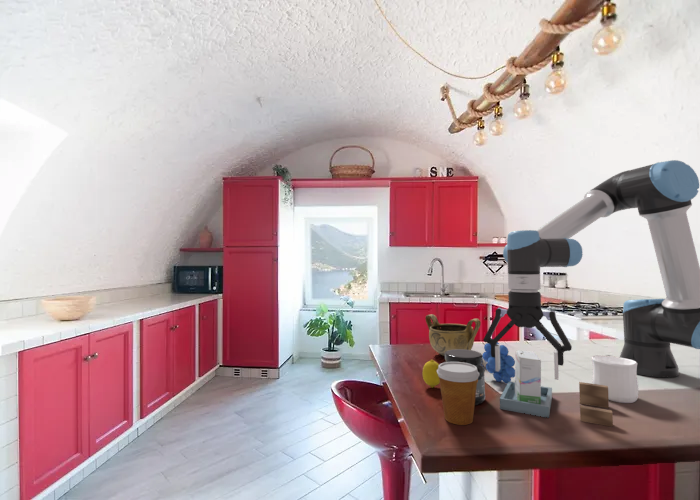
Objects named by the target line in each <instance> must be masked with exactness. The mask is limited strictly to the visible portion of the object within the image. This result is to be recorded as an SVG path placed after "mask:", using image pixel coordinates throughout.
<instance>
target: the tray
mask: <svg viewBox="0 0 700 500" xmlns="http://www.w3.org/2000/svg"><path fill="white" fill-rule="evenodd" d="M552 400H553V388H552V387H549V386H543V385H541V405H540V404H535V403H529V402H523V401H518V399H517V397H516V395H515V381H511V382H508V384H506V385H505V388H504V389H503V392H502V393H501V395H500V397H499V409H500V410H504V411H510V412H515V413H520V414H524V413H525V415H530V414H531V416H535V415H536V416H535V417H540V416H541V417H542V418H546V417H547V419H549V418H550V413H551V407H552ZM541 417H540V418H541Z"/></svg>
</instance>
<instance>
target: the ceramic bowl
mask: <svg viewBox="0 0 700 500" xmlns="http://www.w3.org/2000/svg"><path fill="white" fill-rule="evenodd" d="M437 317H438V316H436V315H435V314H427V315H426V316H425V319H424V320H425V323H426V325H427V329H428V331H429V332H428V338H429V339H428V340H429V343H430V346H431V348H432V349H433V350H434V351H435V353H438V354H439V355H440V356H443V357H445V352H446V351H448V350H453V349H466V350H472V349H473V346H474V342H475V338H476V336H477V334H478V332H479V330H480V328H481V320H480V319H479V318H473V319H470V320H469V321H468V322H467V324H461V323H440V322H439V321H438V318H437ZM473 322H474V323H475V325H474V327H473V326H472V324H473Z"/></svg>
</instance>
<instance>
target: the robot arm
mask: <svg viewBox="0 0 700 500" xmlns="http://www.w3.org/2000/svg"><path fill="white" fill-rule="evenodd" d="M699 189H700V180H699V177H698V175H697V173H696V171H695V169H693V167H692V166H690V165H689V164H687V163H686V162H684V161H681V160H678V159H675V160H673V159H672V160H666V161H661V162H659V161H658V162H656V163H653V164H649V165H644V166H642V167H641V166H640V167H637V168H633V169H629V170H624V171H621V172H619V173H617V174H615V175H613V176H611V177H609V178H607V179H606V180H605V181H602V182H601V183H599V184H597V186H595V187H593V188H592V189H590V190H589V191H587V192H586V193H585V194H584V196H583V198H582V199H581V200H579V201H578V202H577V203H575V204H573V205H572V206H571V207H569V208H567V209H566V210H564V211H563V212H561V213H560V214H558V215H557V216H555V217H554V218H552V219H550V220H549V221H548V222H545V224H544V225H542V226H540V227H538V228H537V229H536V230H531V229H530V230H527V229H526V230H524V229H523V230H514V231H513V230H512V231H509V232H508V234H507V239H506V245H504V248H503V251H502V256H503V258H504V260H505V262H506V263H507V289H508V290H509V291H508V293H507V294H508V295H507V296H508V308H507V309H506V308H502V307H498V308H496V309H495V314H494V317H493V319H492V322H491V324H490V326H489V328H488V329H487V332H486V333H485V335H484V337H483V342H484V343H489V344H490V345H491V356H492V357H494V358H495V368H496V371H498V372H499V370H500V345H501V344H500V343H499V341H500V340H501V339H502V338H503V337H505V335H506V334H507V333H508V332H509V331H510V330H511V328H513V326H516V327H518V328H528V329H532V328H536V329H537V330H538V331H539V332H540V333H541V335H542V336H543V337H544V338H545V339H546V340H547V341H548V342H549V344H550V345H551V346H552V347H553V349H554V351H553V360H554V361H553V363H554V366H553V367H554V368H553V369H554V380H557V381H558V380H559V376H560V375H559V374H560V373H559V371H560V370H559V366H562V367H563V366H564V363H565V362H564V360H565V358H564V353H565V352H570V351H572V349H573V348H572V347H573V346H572V344H571V342H570V341H569V339H568V337H567V335H566V333H565V332H564V330H563V329H562V327H561V324H560V323H559V322H558V320H557V316H556V311H555V310H552V309H551V310H550V311H549V310H548V311H543V309H542V297H541V296H542V295H541V292H540V290H541V268H568V267H574V266H577V265H578V264H579V263H580V262H581V260H582V259H583V255H584V254H583V247H582V245H581V243H580V242H579V241H578V240H576V239H573V238H572V237H573V236H575V235H576V234H578V233H580V232H581V231H582V230H584V229H585V228H587V227H588V226H590V225H592V223H595V222H596V221H598V220H599V219H600V218H607V217H610V216H611V215H612V214H614V213H616V212H621V211H624V210H630V209H637V211H638V215H639V216H640V217H641V218H644V219H646V220H647V223H648V224H647V225H648V229H649V232H650V236H651V240H652V245H653V249H654V251H655V252H654V253H655V257H656V259H657V264H658V268H659V273H660V275H661V276H660V277H661V280H662V284H663V288H664V291H665V292H664V293H665V296H666V298H649V299H648V298H647V299H646V298H644V299H643V298H642V299H627V300H625V301H624V302H623V308H622V309H623V311H622V321H623V341H624V342H623V347H622V349H621V352H620V355H619V357H621V358H626V359H630V360H633V361H636V362H637V375H639V376H640V375H641V376H647V377H653V378H675V377H676V378H677V377H678V376H679V373H680V372H679V371H680V370H679V366H678V363H677V360H676V358H675V356H674V353H673V352H672V350H671V344H675V345H679V346H683V347H688V348H692V349H696V350H700V263H699V259H698V255H697V251H696V247H695V242H694V239H693V235H692V231H691V227H690V226H691V225H690V222H689V219H688V215H687V212H688V210H689V209H690V208H691V207H692V206H693V203H692V199H694V198H695V197H697V195H698V193H699ZM506 315H507V316H508V317H509V319H510V321H509V322H508V323H507V324H506V325H505V326H504V327H503V329H501V330H500V331H499V333H498V334H497V335H495V337H494V338H491V337H492V335H493V334H494V332H495V330H496V328H497V326H498V324H499V323H500V321H501V318H503V317H505V316H506ZM543 317H545V318H546V320H547V321H550V323H551V325H552V327H553V329H554V330H555V332H556V335H557V336H558V338H559V339H560V342H561V343H562V344H561V343H560V342H559V341H558V340H557V339H556V338H555V337H554V335H552V333H551V332H550V331H549V330H548V329H547V328H546V327H545V325H544V324H543V323H542V322H541V319H542V318H543ZM497 342H498V343H499V344H497Z"/></svg>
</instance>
